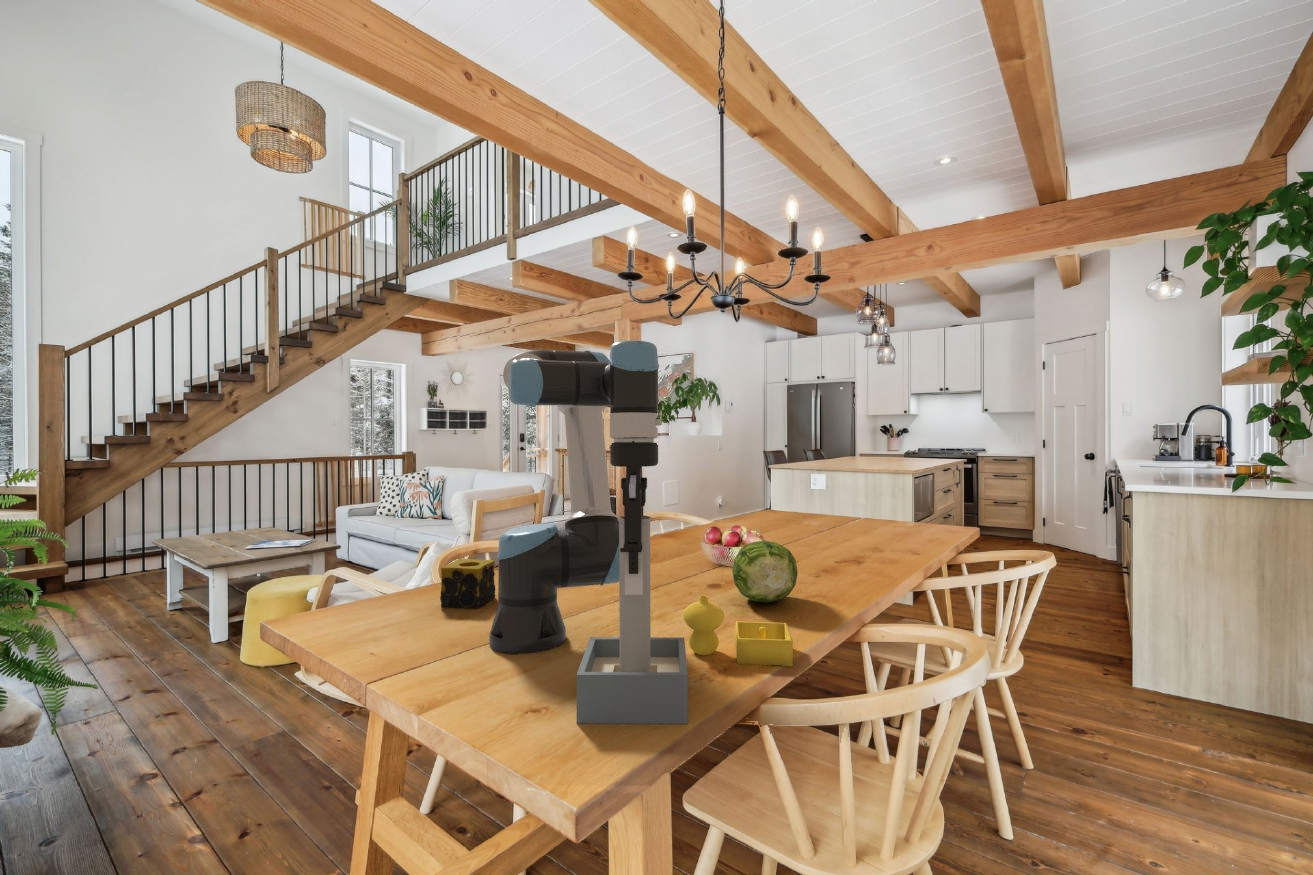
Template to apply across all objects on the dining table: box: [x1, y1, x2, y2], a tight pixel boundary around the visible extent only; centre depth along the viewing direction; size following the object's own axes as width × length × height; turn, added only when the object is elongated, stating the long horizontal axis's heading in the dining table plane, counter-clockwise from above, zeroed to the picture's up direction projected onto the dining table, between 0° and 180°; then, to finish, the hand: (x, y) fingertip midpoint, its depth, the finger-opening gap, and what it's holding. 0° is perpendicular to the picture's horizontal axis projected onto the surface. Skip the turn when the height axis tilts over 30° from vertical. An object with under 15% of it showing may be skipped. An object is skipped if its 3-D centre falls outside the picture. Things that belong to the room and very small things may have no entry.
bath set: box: [682, 595, 794, 667], centre depth 113 cm, size 20×10×11 cm, turn 84°
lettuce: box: [732, 540, 799, 603], centre depth 146 cm, size 16×21×15 cm
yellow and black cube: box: [439, 558, 496, 610], centre depth 148 cm, size 10×10×10 cm
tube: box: [618, 515, 653, 672], centre depth 94 cm, size 5×5×25 cm
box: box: [575, 636, 689, 725], centre depth 94 cm, size 16×16×7 cm
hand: (634, 589), depth 94 cm, fingers closed on tube, 5 cm apart
